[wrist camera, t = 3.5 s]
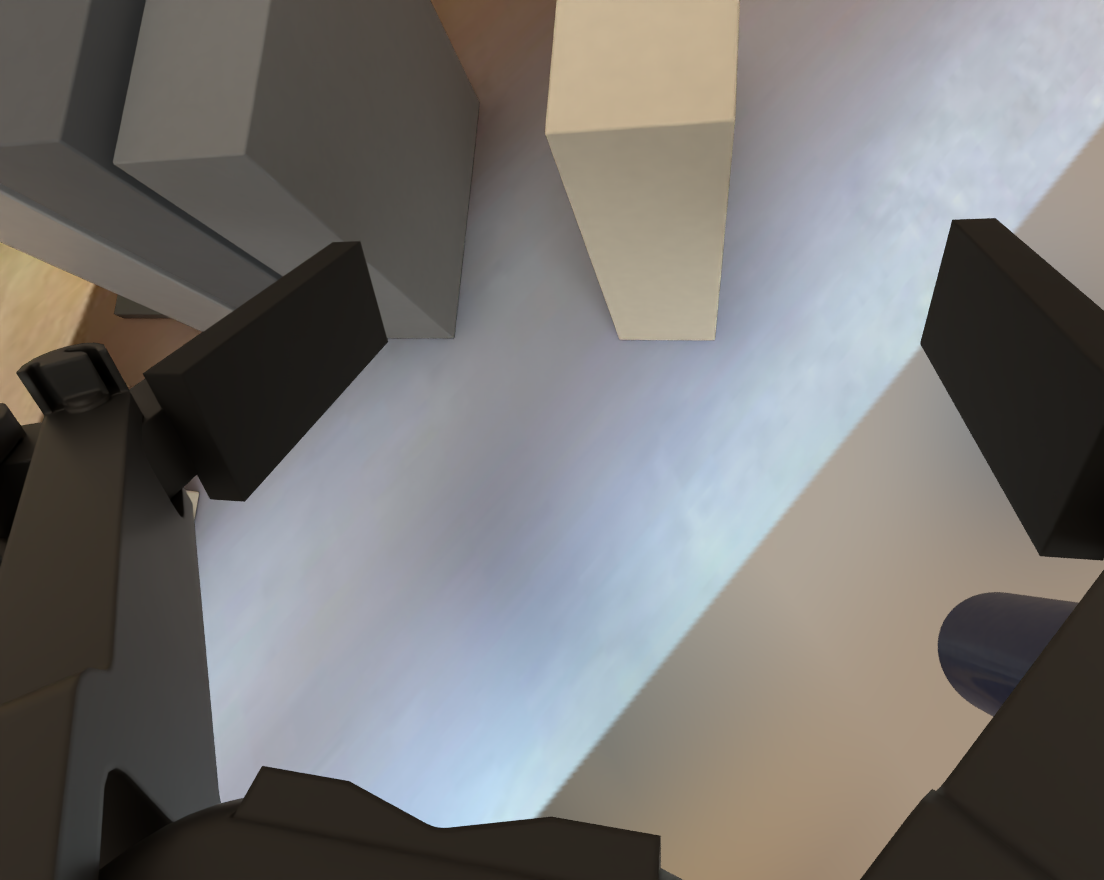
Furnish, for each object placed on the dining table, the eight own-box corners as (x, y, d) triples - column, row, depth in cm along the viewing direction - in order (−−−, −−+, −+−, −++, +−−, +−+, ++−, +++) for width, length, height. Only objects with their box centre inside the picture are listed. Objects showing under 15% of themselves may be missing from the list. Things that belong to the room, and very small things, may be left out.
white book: (725, 82, 28) (753, -349, 15) (715, 341, 26) (735, 119, 13) (635, 89, 29) (583, -310, 16) (619, 340, 27) (543, 133, 14)
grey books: (480, 102, 31) (289, -294, 16) (454, 338, 29) (214, 128, 14) (159, 129, 35) (-215, -166, 21) (119, 336, 33) (-324, 172, 19)
